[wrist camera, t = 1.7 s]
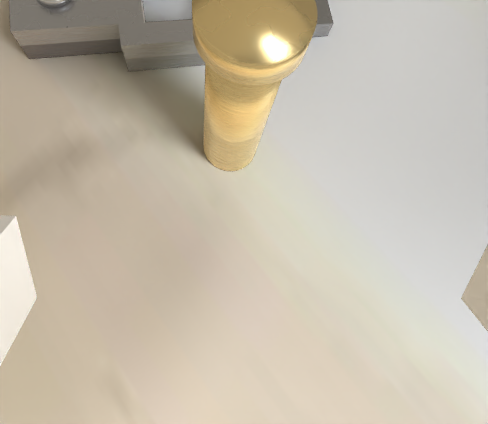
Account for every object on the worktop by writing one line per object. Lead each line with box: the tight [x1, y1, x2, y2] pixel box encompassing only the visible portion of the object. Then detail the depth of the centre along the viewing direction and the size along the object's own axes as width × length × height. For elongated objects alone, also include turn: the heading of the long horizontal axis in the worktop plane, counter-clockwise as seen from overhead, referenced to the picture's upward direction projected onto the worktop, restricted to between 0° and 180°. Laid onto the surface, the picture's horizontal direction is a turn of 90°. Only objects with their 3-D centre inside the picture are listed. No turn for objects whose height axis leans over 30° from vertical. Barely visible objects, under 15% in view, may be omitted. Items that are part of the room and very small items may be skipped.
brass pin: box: [192, 0, 317, 171], centre depth 22 cm, size 5×5×14 cm
